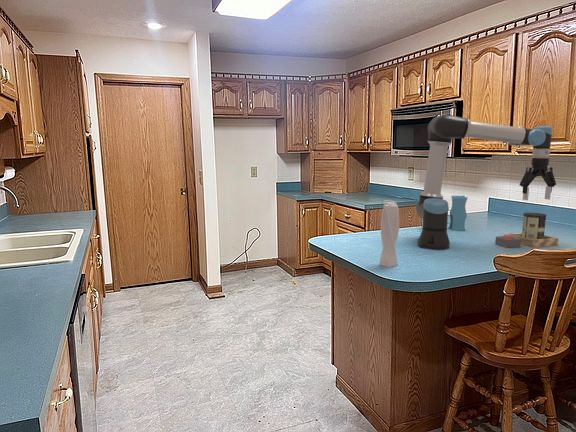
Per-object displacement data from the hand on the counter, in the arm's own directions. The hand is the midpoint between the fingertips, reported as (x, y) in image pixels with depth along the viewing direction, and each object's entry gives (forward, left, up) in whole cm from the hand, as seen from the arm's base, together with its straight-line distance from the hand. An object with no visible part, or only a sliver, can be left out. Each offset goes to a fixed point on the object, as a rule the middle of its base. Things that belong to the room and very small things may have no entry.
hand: (536, 199), depth 218 cm
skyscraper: (-92, -19, -23) cm, 97 cm away
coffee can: (0, 0, -22) cm, 22 cm away
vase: (-16, +40, -23) cm, 49 cm away
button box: (-17, -2, -22) cm, 28 cm away
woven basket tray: (0, 0, -22) cm, 23 cm away
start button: (-17, -2, -21) cm, 27 cm away
